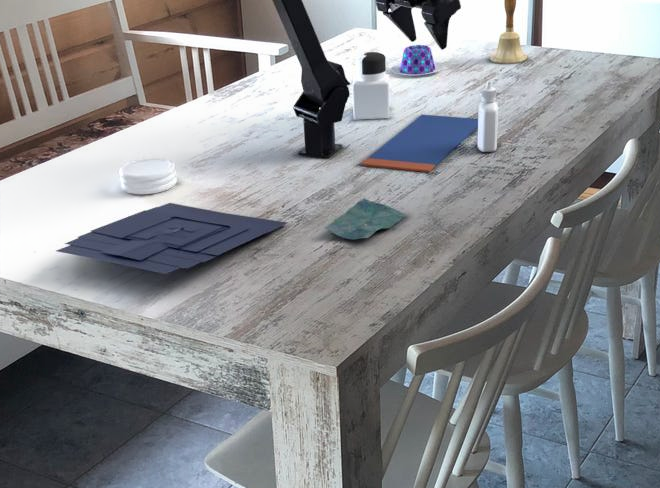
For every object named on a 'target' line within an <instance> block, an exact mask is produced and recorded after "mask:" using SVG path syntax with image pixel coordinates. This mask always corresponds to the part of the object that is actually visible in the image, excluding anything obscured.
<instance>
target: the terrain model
mask: <svg viewBox="0 0 660 488" xmlns="http://www.w3.org/2000/svg"><path fill="white" fill-rule="evenodd" d="M406 216H407V214H406V213H404V212H401V211H400V210H397V209H395V208H393V207H391V206H389V205H387V204H383V203H378V202H373V201H371V200H369V199H367V198H362V199H360V200H359V201H357V203H356V204H354V205H353V206H351V207H350V208H349V209H347V211H346V212H344V213H343V214H341V215H340V216H339V217H338V218H335V219H333V221H332V222H331V223H330V224H328V225H326V226H325V227H324V229H326V230H328V231H329V232H331V233H333V234H334V235H336V236H338V237H341V238H343V239H347V240H359V239H369V238H370V237H371V236H372V235H374V234H375V233H376V232H377V231H379V230H387V229H391V228H392V227H393V226H394V225H395V224H397V223H398V222H401V221H402V220H403V219H404V218H405V217H406Z"/></svg>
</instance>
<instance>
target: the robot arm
mask: <svg viewBox="0 0 660 488" xmlns="http://www.w3.org/2000/svg"><path fill="white" fill-rule="evenodd" d="M271 1H272V3H273V6H274V8H275V10H276V11H277V14H278V15H277V16H278V17H279V20H280V22H281V23H282V26H283V28H284V30H285V31H284V32H285V33H286V35H287V38H288V39H289V42H290V45H291V47H292V49H293V51H294V54H295V57H296V58H297V60H298V63H299V65H300V68H301V76H300V84H301V87H302V92H301V94H300V96H299V97H298V99H297V100H296V101H295V103H294V104H293V106H292V109H293V111H294V113H295V115H296V117H297V118H301V119H302V121H303V136H304V138H303V139H304V147H303V148H301V149H300V150H298V151H297V155H299V156H306V157H315V158H327V159H328V158H330V157H332V156H333V155H335V154H336V153H337V152H339V151H340V150H341V149H342V148H343V146H344V145H343V144H341V143H336V130H335V129H336V127H335V125H336V123H340V122H342V121H343V117H344V113H345V108H346V105H347V103H348V99H349V98H350V97H351V96H350V95H351V94H350V89H349V87H348V86H351V82H350V81H349V80H348V78H347V77H346V74H345V70H344V67H343V65H342V64H340V63H337V62H333V61H330V60H328V59H327V56H326V54H325V51H324V50H323V47H322V45H321V42H320V40H319V37H318V35H317V34H316V30H315V28H314V25H313V23H312V21H311V18H310V16H309V13H308V11H307V9H306V6H305V4H304V2H303V0H271ZM374 1H375V2H374V3H375V5H376V8H377V9H376V10H377V11H378V12H381V13H382V15H383V16H385V17H386V18H387V19H388V20H389V21H390V22H391V23H393V24H394V25H395V26H396V28H397V29H399V31H400V32H401V33H402V34H403V35H404V36H405V37H406V38H407V39H408V40H409V41H410V42H411V43H413V42H414V43H415V41H416V40H417V32H416V26H415V22H414V19H413V17H414V16H413V12H412V10H413V9H414V8H416V9H419V10H420V14H421V17H422V19H423V20H424V22H423V25H424V26H425V27H426V29H427V31H428V32H429V34H430V35H431V37H432V38H433V40H434V41H435V43H436V45H437V46H438V47H439V49H440V50H441V51H443V50H445V49H446V48H447V47H448V33H449V24H450V20H451V18H452V16H454V15H455V14H456V13H457V12H458V11H459V10H461V9H462V5H461V0H374Z"/></svg>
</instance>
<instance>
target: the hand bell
mask: <svg viewBox="0 0 660 488" xmlns="http://www.w3.org/2000/svg"><path fill="white" fill-rule="evenodd" d="M503 4H504V5H503V6H504V11H505V15H506V20H505V32H502V33H501V34H500V35H499V36H498V37H499V39H498V44H497V47H496V49H495V52H494V53H493V54H492V55H491V56H490V58H489V59H490V61H491V62H493V63H495V64H504V65H507V64H508V65H511V64H518V63H522V62H525V61H526V60H527V59H528V57H527V55H526V53H524V51H523V50H522V46H521V39H520V34H518V33H517V32H515V31H514V30H515V29H514V14H515V11H516V8H517V7H516V6H517V0H504V3H503Z"/></svg>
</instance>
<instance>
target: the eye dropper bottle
mask: <svg viewBox="0 0 660 488" xmlns="http://www.w3.org/2000/svg"><path fill="white" fill-rule="evenodd" d="M492 83H493V82H492V80H487V82H486V86H485V87H484V88H482V89H481V102H480V103H479V105H478V111H477V112H478V113H477V114H478V116H477V119H478V128H477V149H478V150H479V151H480V152H482V153H493V152H496V151H497V149H498V132H499V131H498V130H499V104H498V102H496V100H497V99H496V98H497V89H496V88H495V87H493V84H492Z"/></svg>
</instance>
